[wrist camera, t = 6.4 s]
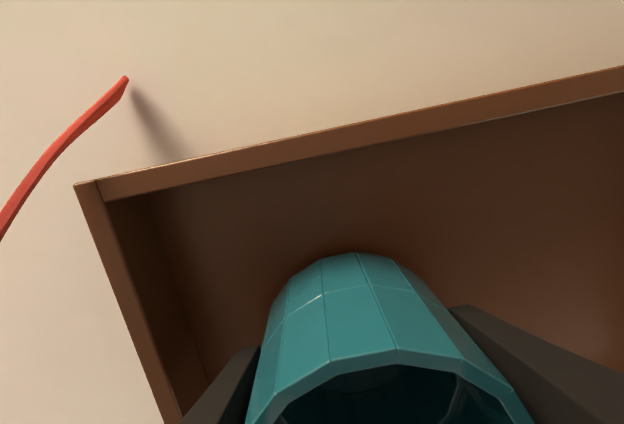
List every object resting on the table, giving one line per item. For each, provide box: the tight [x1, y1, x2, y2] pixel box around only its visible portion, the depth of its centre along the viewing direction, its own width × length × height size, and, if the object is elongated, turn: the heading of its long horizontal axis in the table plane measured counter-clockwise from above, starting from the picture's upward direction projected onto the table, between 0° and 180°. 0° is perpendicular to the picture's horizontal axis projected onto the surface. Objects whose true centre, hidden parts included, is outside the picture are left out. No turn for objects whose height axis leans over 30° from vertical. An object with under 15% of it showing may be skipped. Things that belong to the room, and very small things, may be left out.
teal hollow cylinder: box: [245, 252, 535, 424], centre depth 8 cm, size 6×6×5 cm
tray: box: [73, 65, 624, 424], centre depth 10 cm, size 18×13×2 cm
